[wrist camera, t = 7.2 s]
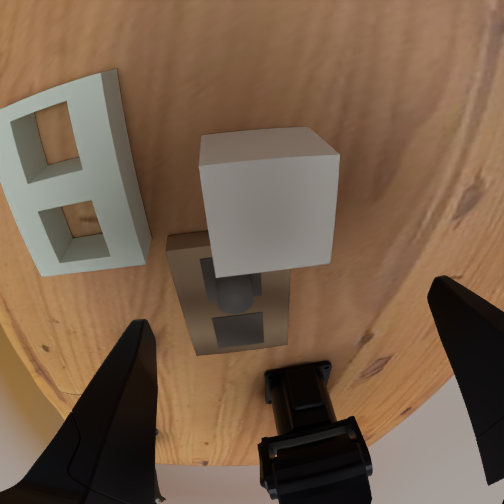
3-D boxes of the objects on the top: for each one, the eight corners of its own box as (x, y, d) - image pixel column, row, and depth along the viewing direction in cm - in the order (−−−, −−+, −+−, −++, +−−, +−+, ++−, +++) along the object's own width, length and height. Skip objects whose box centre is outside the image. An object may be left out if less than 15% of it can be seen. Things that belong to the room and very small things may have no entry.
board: (283, 329, 25) (292, 365, 22) (196, 340, 24) (197, 377, 21) (285, 222, 19) (300, 258, 16) (168, 236, 18) (161, 274, 15)
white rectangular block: (306, 216, 19) (330, 263, 15) (213, 226, 18) (215, 277, 15) (308, 126, 15) (340, 154, 12) (201, 135, 15) (198, 166, 11)
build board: (151, 238, 18) (145, 264, 16) (55, 252, 18) (41, 276, 16) (116, 68, 12) (100, 72, 10) (7, 106, 12) (-18, 118, 10)
